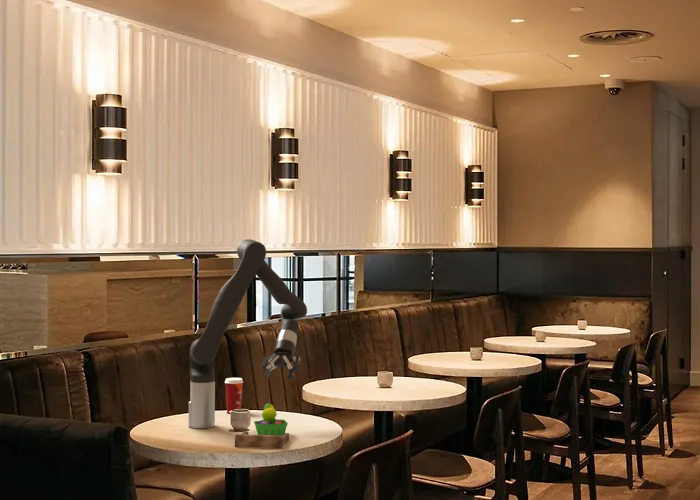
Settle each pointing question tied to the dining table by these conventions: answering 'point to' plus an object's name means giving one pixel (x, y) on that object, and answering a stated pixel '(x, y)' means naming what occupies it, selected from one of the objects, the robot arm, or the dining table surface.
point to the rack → (261, 440)
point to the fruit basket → (270, 423)
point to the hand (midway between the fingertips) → (277, 379)
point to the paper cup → (233, 393)
